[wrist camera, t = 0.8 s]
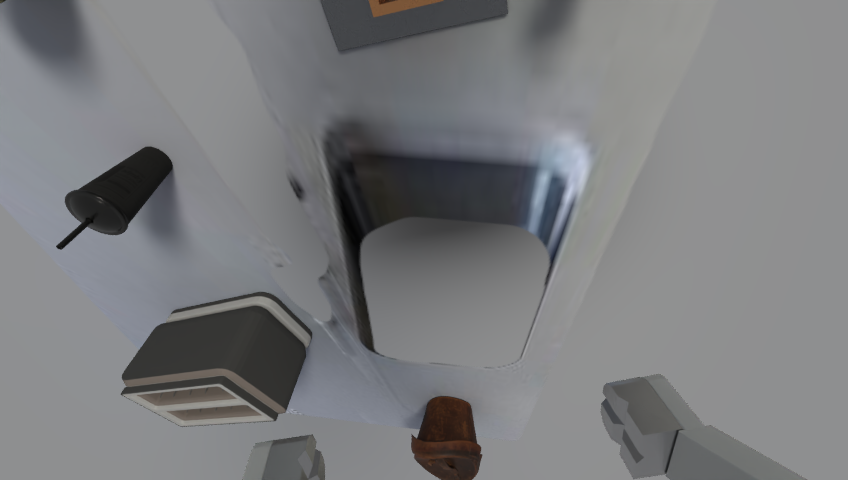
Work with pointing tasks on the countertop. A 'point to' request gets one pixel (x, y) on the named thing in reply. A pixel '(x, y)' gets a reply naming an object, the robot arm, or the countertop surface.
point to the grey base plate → (401, 17)
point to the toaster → (220, 362)
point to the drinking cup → (117, 193)
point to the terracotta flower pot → (448, 440)
